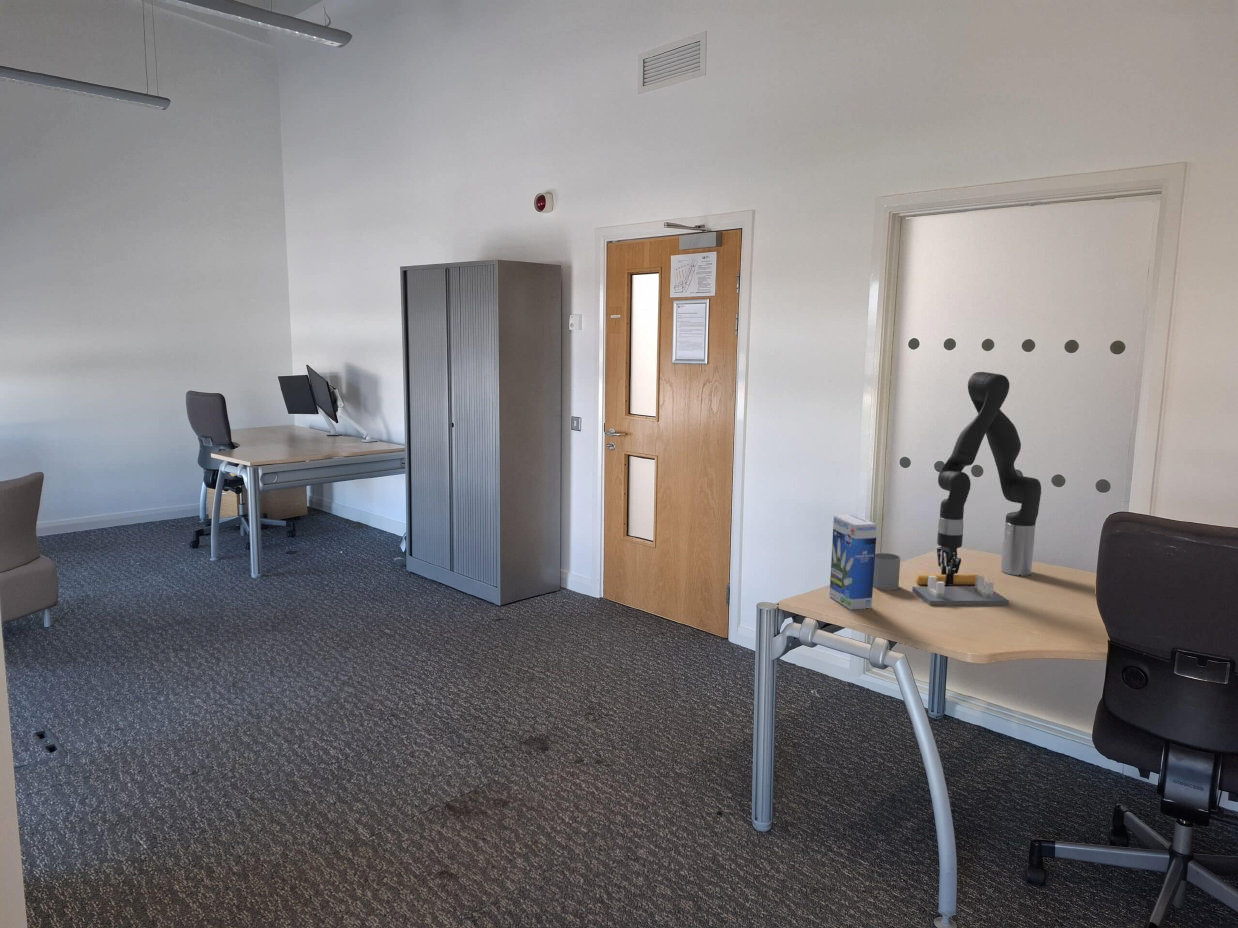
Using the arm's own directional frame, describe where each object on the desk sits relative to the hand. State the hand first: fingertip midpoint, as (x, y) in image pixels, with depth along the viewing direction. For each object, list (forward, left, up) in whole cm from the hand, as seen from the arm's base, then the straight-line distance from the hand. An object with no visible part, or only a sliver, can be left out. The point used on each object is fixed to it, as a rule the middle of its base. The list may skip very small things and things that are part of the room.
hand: (946, 582), depth 270 cm
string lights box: (+18, -37, -1) cm, 41 cm away
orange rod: (0, 0, -1) cm, 1 cm away
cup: (+2, -21, -1) cm, 21 cm away
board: (+14, -2, -1) cm, 14 cm away
